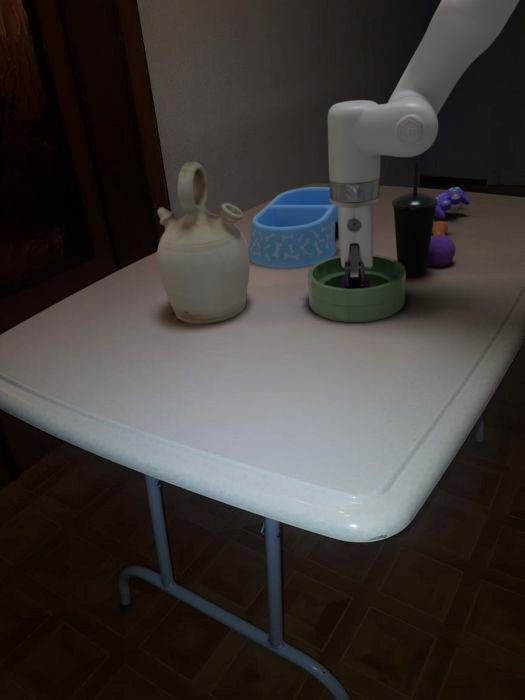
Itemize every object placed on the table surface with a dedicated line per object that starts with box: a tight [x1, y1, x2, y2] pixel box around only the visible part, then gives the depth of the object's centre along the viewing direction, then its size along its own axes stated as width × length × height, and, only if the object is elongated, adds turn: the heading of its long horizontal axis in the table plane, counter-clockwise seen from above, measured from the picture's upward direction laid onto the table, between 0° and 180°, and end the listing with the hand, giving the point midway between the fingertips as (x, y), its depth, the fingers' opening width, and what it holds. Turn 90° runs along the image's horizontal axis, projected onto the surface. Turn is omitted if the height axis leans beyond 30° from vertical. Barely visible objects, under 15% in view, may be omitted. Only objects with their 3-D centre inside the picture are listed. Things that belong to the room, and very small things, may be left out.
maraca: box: [427, 220, 456, 268], centre depth 109 cm, size 6×6×20 cm
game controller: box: [434, 185, 471, 223], centre depth 128 cm, size 10×8×10 cm
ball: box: [340, 273, 370, 288], centre depth 92 cm, size 5×5×5 cm
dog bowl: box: [248, 186, 338, 269], centre depth 122 cm, size 34×19×8 cm, turn 161°
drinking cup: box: [391, 161, 438, 278], centre depth 97 cm, size 8×8×20 cm
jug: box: [156, 161, 251, 324], centre depth 91 cm, size 15×16×25 cm
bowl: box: [307, 254, 407, 323], centre depth 92 cm, size 16×16×6 cm
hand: (354, 298), depth 93 cm, fingers closed on ball, 4 cm apart
